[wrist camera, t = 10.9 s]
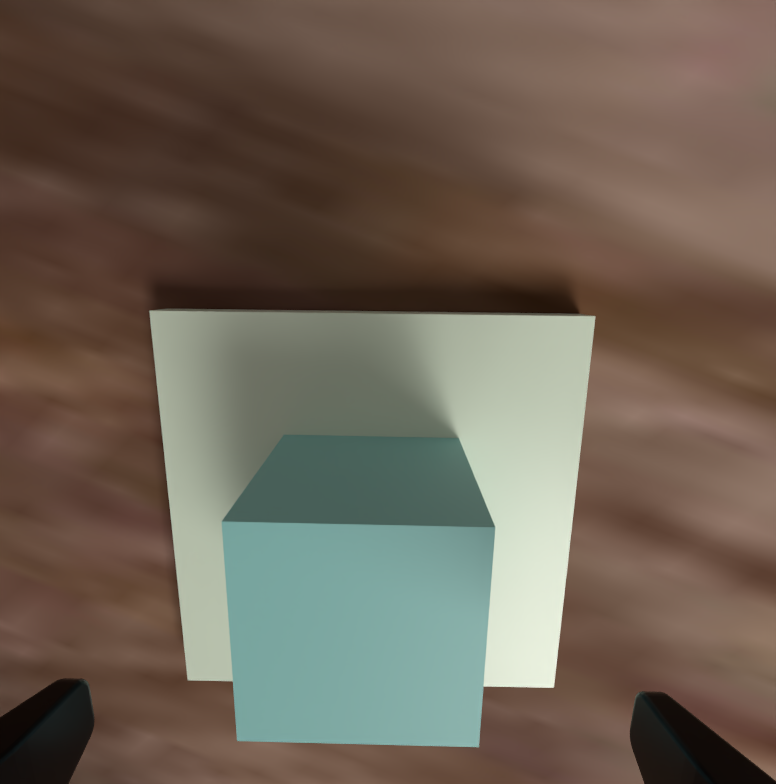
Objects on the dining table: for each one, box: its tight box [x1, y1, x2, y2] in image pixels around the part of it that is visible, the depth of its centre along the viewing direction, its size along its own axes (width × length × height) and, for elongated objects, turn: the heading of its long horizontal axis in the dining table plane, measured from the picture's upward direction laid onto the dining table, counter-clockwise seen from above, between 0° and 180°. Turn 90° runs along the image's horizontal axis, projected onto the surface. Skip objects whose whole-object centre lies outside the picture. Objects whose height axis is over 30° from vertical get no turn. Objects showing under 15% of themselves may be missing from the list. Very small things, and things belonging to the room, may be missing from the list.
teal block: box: [222, 435, 495, 747], centre depth 12 cm, size 5×5×5 cm
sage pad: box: [149, 309, 595, 688], centre depth 15 cm, size 12×12×1 cm
